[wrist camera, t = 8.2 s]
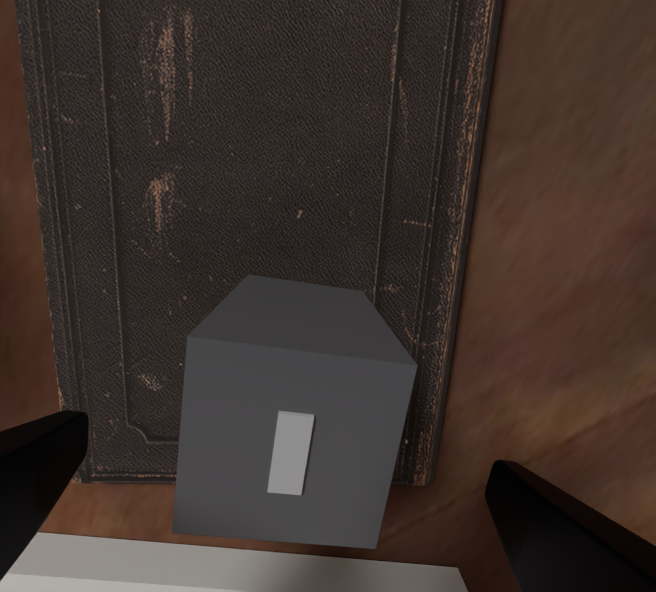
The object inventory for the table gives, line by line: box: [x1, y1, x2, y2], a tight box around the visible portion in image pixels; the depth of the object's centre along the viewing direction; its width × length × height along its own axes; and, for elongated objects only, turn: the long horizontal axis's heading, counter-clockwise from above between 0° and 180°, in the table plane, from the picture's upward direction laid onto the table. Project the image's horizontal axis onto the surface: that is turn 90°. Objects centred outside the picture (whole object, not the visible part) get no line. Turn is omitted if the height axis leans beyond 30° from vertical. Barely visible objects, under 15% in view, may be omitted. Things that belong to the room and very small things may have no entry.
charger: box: [172, 274, 418, 549], centre depth 11 cm, size 4×4×7 cm
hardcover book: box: [14, 0, 503, 486], centre depth 14 cm, size 16×23×2 cm
